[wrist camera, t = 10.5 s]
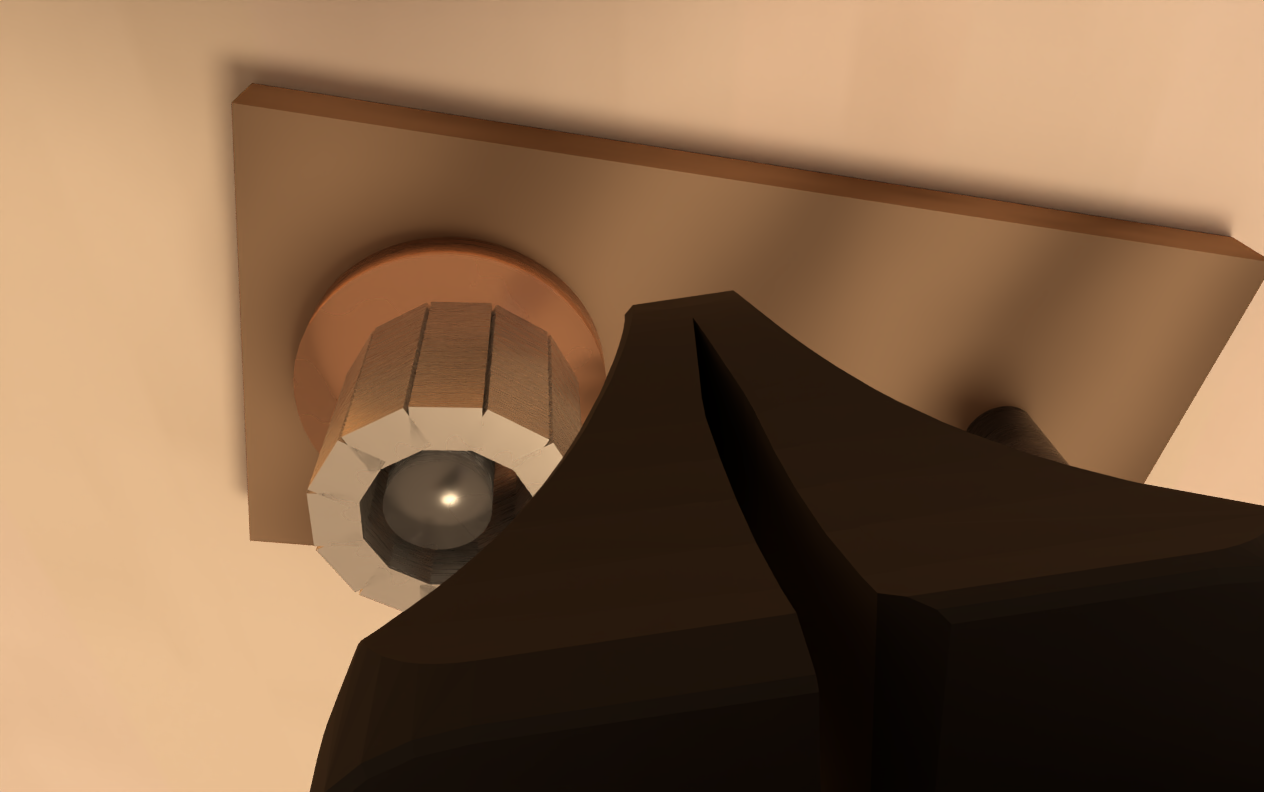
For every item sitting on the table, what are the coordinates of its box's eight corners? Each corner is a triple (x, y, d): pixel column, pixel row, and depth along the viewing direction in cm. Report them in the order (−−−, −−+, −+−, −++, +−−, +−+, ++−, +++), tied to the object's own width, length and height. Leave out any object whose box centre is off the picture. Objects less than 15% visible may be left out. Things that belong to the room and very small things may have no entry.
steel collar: (506, 263, 19) (499, 362, 15) (615, 439, 21) (629, 557, 18) (300, 364, 20) (250, 479, 16) (429, 522, 22) (408, 649, 19)
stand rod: (1025, 395, 23) (1108, 495, 20) (1039, 446, 24) (1121, 551, 20) (955, 424, 23) (1025, 528, 20) (972, 474, 24) (1042, 582, 21)
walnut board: (1233, 237, 23) (1274, 262, 21) (1048, 569, 28) (1072, 604, 27) (251, 82, 19) (231, 102, 18) (265, 502, 25) (249, 540, 23)
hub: (513, 182, 19) (506, 284, 15) (652, 423, 22) (677, 558, 18) (238, 321, 20) (162, 450, 16) (411, 530, 24) (385, 679, 19)
